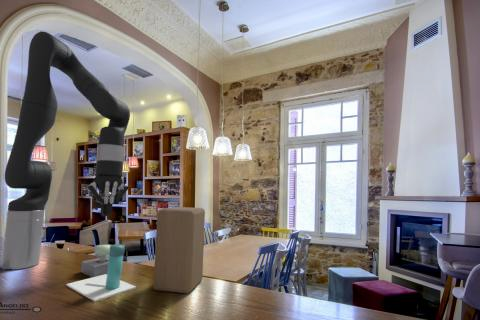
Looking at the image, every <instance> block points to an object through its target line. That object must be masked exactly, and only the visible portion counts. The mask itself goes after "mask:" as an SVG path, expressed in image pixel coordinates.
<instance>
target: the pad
mask: <svg viewBox="0 0 480 320" xmlns="http://www.w3.org/2000/svg"><path fill="white" fill-rule="evenodd" d="M106 278H107V274H104V275H100V276H96V277H89V278H85V279H82V280H77V281H74V282H70V283H66V287H67V288H69V289H71V290H73V291H75V292H77V293H78V294H80V295H82V296H84V297H85V298H87V299H89V300H90V301H93V302H99V301H101V300H104V299H106V298H107V299H108V298H111V297H114V296H117V295H119V294H123V293H126V292H129V291H132V290H135V289H137V286H136V285H133V284H131V283H128V282H126V281H123V280H121V279H120V287H119V288H117V289H114V290H108V289H106V288H105V286H106Z"/></svg>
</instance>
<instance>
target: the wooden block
mask: <svg viewBox="0 0 480 320" xmlns="http://www.w3.org/2000/svg"><path fill="white" fill-rule="evenodd" d="M205 211H206V210H205V208H203V207H188V206H187V207H185V206H173V207H166V208H160V209H158V211H157V218H156V231H155V232H156V235H155V250H154V251H155V253H154V269H153V284H152V285H153V287H152V288H153V290H155V291H163V292H172V293H173V292H174V293H182V294H190V293H191V292H192V291H193V290H194V289H195V288H196V287H197V286H198V285H199V284H200V283H201V282H202V280H203V273H204V272H203V269H204V249H205V248H204V246H205V245H204V244H205V220H206V219H205V215H206V212H205Z"/></svg>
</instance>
